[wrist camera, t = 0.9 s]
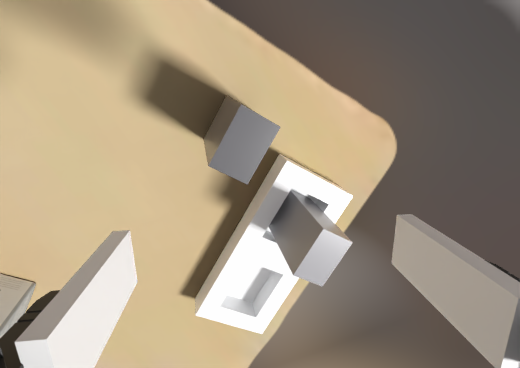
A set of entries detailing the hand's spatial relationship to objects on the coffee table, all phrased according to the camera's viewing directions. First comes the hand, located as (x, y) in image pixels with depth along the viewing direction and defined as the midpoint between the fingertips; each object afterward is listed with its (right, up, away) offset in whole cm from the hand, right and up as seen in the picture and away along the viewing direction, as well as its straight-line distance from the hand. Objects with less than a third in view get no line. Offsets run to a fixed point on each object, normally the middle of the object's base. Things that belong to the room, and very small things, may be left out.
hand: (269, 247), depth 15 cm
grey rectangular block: (-4, +10, +23) cm, 25 cm away
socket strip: (+1, -6, +30) cm, 30 cm away
